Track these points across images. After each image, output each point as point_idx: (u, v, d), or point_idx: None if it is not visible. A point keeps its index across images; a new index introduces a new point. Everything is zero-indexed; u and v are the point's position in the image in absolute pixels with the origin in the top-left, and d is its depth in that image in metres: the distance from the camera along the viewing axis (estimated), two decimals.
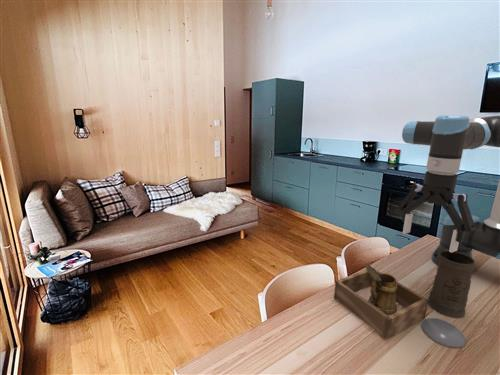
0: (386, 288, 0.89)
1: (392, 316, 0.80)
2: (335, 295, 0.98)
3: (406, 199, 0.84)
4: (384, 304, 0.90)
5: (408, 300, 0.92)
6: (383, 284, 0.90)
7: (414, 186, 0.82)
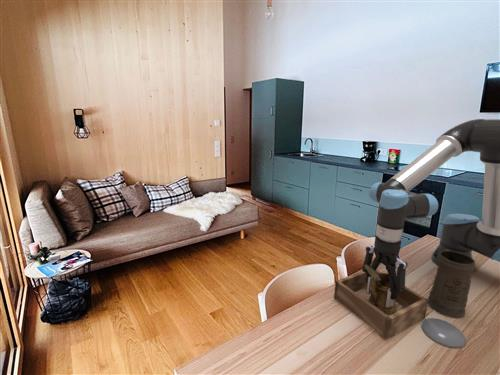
0: (386, 288, 0.89)
1: (392, 316, 0.80)
2: (335, 295, 0.98)
3: (365, 261, 0.94)
4: (384, 304, 0.90)
5: (408, 300, 0.92)
6: (383, 284, 0.90)
7: (367, 248, 0.93)
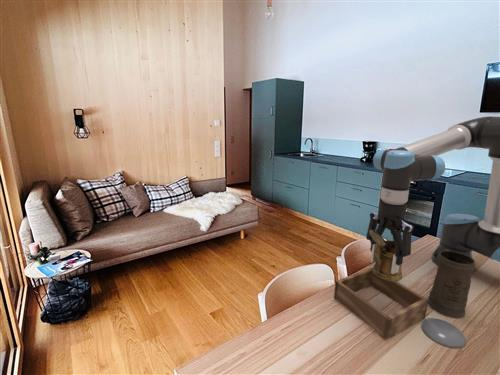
0: (391, 254, 0.86)
1: (392, 316, 0.80)
2: (335, 295, 0.98)
3: (370, 228, 0.91)
4: (389, 271, 0.87)
5: (408, 300, 0.92)
6: (387, 250, 0.87)
7: (371, 215, 0.90)
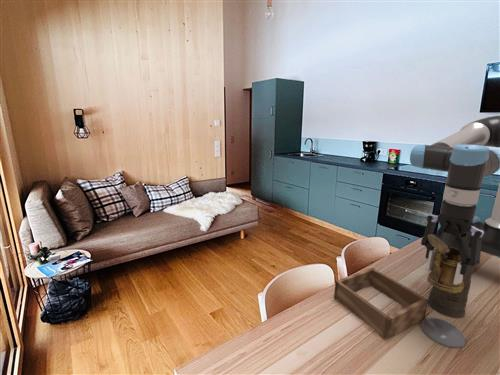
0: (453, 262, 0.76)
1: (392, 316, 0.80)
2: (335, 295, 0.98)
3: (426, 233, 0.81)
4: (450, 281, 0.77)
5: (408, 300, 0.92)
6: (449, 257, 0.77)
7: (429, 217, 0.80)
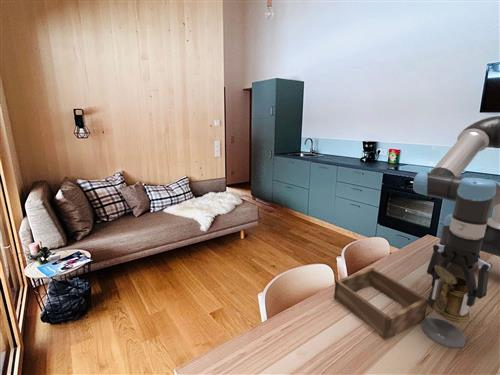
0: (460, 292, 0.77)
1: (392, 316, 0.80)
2: (335, 295, 0.98)
3: (432, 262, 0.82)
4: (456, 311, 0.78)
5: (408, 300, 0.92)
6: (456, 288, 0.77)
7: (436, 247, 0.80)
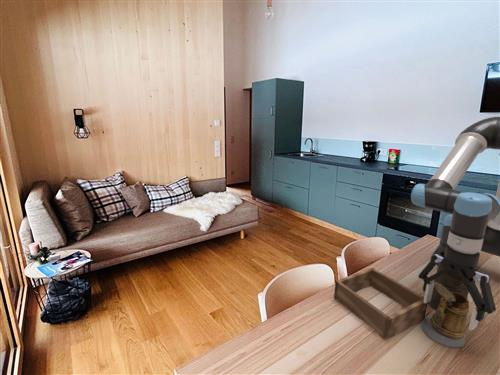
0: (458, 309, 0.78)
1: (392, 316, 0.80)
2: (335, 295, 0.98)
3: (426, 269, 0.84)
4: (453, 327, 0.79)
5: (408, 300, 0.92)
6: (454, 305, 0.79)
7: (434, 257, 0.81)
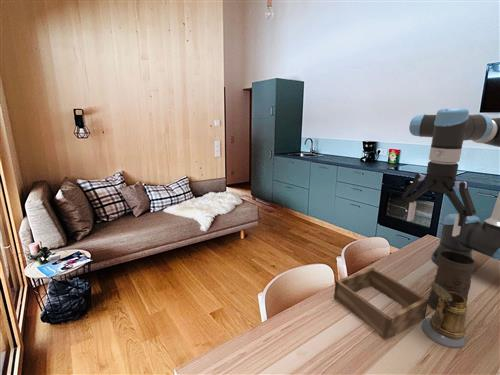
0: (456, 309, 0.78)
1: (392, 316, 0.80)
2: (335, 295, 0.98)
3: (410, 188, 0.90)
4: (452, 327, 0.79)
5: (408, 300, 0.92)
6: (452, 304, 0.79)
7: (417, 176, 0.87)
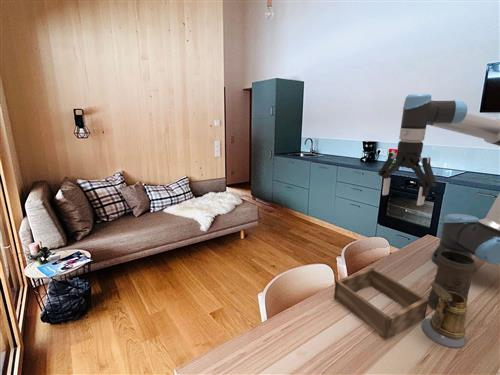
0: (456, 309, 0.78)
1: (392, 316, 0.80)
2: (335, 295, 0.98)
3: (384, 166, 1.02)
4: (452, 327, 0.79)
5: (408, 300, 0.92)
6: (452, 304, 0.79)
7: (390, 154, 1.00)
